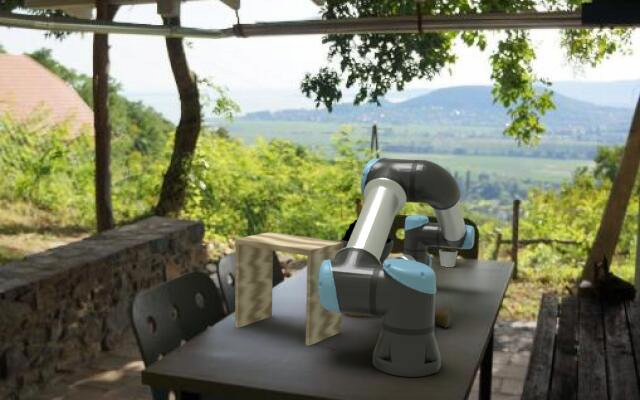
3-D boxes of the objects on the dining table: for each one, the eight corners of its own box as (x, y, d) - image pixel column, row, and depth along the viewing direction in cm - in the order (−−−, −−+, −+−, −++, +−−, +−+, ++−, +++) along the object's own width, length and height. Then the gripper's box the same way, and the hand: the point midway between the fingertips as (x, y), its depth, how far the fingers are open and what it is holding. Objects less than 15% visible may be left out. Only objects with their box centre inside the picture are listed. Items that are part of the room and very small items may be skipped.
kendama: (403, 340, 175) (417, 317, 194) (441, 345, 172) (452, 321, 191) (404, 317, 174) (418, 296, 193) (443, 322, 171) (453, 300, 190)
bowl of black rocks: (333, 269, 254) (334, 218, 252) (347, 259, 273) (348, 212, 271) (386, 274, 248) (388, 222, 246) (397, 263, 267) (398, 215, 265)
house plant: (477, 269, 258) (479, 226, 256) (445, 272, 253) (447, 228, 251) (456, 262, 271) (457, 221, 270) (425, 264, 266) (426, 222, 264)
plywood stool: (269, 315, 192) (270, 232, 190) (341, 332, 179) (343, 242, 176) (235, 327, 181) (235, 238, 178) (309, 345, 167) (310, 250, 165)
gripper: (436, 286, 210) (403, 300, 193) (366, 274, 224) (329, 286, 207) (437, 262, 209) (403, 274, 192) (366, 251, 223) (329, 262, 206)
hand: (365, 280), depth 199 cm, fingers open, 13 cm apart
